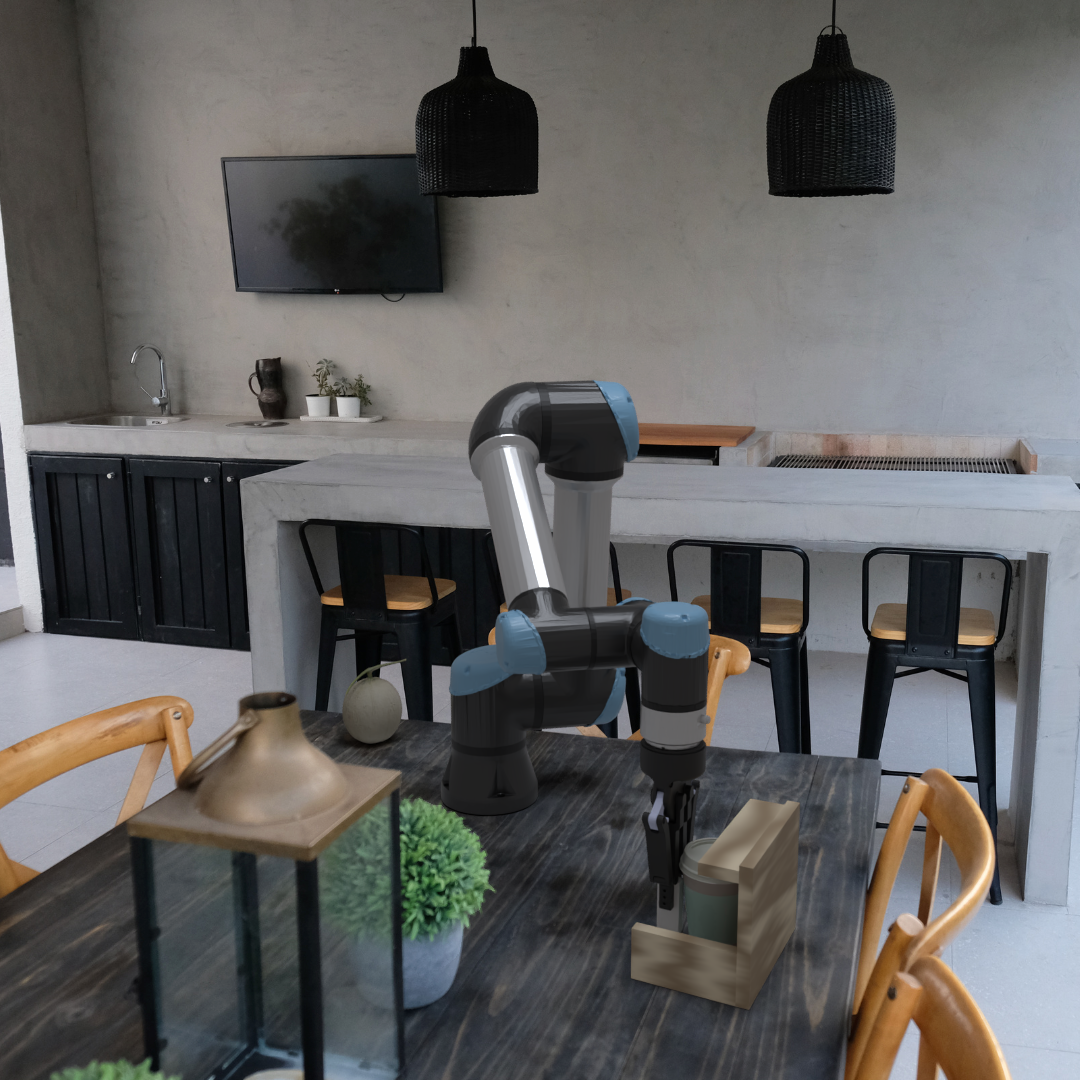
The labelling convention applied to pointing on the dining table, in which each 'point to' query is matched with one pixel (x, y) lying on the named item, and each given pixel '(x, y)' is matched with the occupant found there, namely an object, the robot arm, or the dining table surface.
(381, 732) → the fruit
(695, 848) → the coffee cup
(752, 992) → the nook
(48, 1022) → the dining table surface
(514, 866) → the dining table surface
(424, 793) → the dining table surface
